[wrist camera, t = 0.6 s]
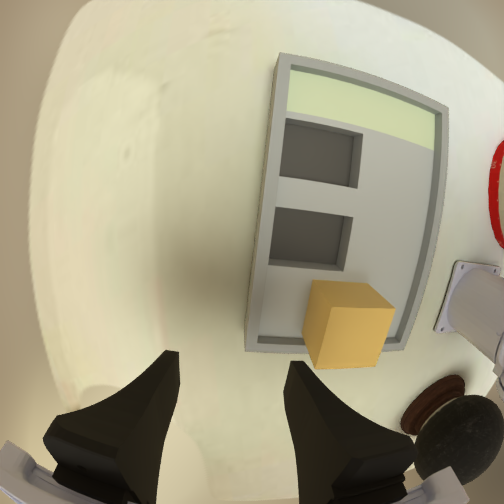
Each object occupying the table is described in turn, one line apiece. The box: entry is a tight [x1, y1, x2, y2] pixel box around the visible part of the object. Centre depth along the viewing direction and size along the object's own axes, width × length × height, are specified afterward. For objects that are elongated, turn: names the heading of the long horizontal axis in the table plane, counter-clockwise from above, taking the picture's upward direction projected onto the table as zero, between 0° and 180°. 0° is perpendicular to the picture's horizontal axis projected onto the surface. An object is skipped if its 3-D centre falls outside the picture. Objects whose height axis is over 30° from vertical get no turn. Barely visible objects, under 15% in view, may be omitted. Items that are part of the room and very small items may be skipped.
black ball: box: [400, 375, 504, 485], centre depth 20 cm, size 13×13×15 cm
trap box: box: [244, 52, 449, 354], centre depth 19 cm, size 14×21×3 cm, turn 174°
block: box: [301, 279, 396, 369], centre depth 18 cm, size 4×4×4 cm
